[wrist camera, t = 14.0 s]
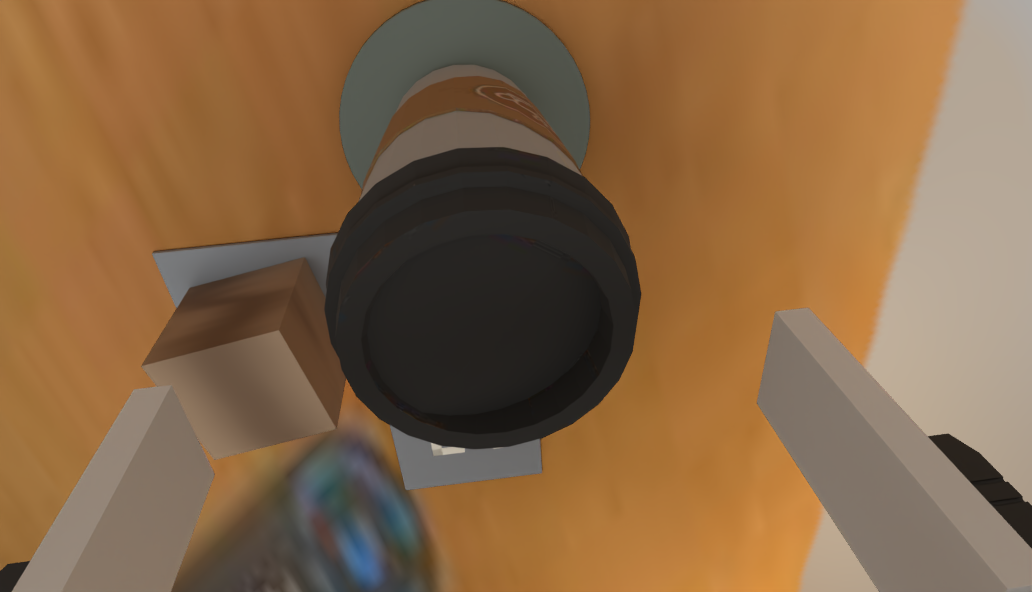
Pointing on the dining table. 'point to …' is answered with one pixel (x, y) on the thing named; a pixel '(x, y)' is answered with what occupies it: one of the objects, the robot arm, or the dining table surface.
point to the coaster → (460, 41)
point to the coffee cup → (479, 272)
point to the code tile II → (240, 261)
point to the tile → (461, 462)
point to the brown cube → (252, 360)
